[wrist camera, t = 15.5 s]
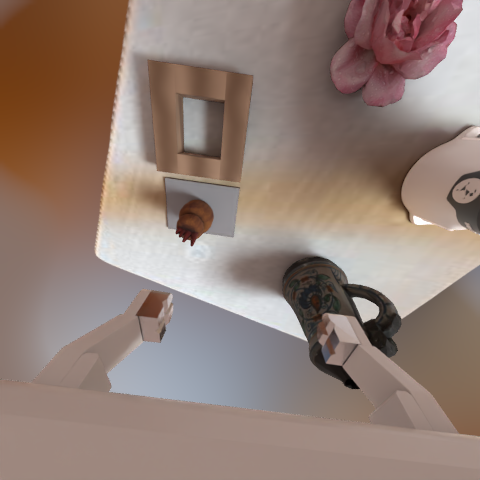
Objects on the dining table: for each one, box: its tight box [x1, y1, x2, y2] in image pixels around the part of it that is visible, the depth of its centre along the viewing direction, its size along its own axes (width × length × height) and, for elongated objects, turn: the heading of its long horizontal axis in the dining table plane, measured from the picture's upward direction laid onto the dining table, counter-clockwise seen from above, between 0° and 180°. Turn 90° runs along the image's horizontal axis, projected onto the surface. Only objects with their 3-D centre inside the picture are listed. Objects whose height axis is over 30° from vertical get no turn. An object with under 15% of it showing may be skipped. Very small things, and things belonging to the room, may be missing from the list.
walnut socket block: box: [148, 60, 253, 182], centre depth 34 cm, size 16×16×4 cm
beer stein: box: [283, 257, 401, 389], centre depth 41 cm, size 16×19×25 cm
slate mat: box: [165, 178, 240, 237], centre depth 43 cm, size 16×12×1 cm
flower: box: [330, 0, 463, 107], centre depth 25 cm, size 15×15×10 cm
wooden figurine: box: [176, 199, 214, 246], centre depth 37 cm, size 7×6×15 cm
